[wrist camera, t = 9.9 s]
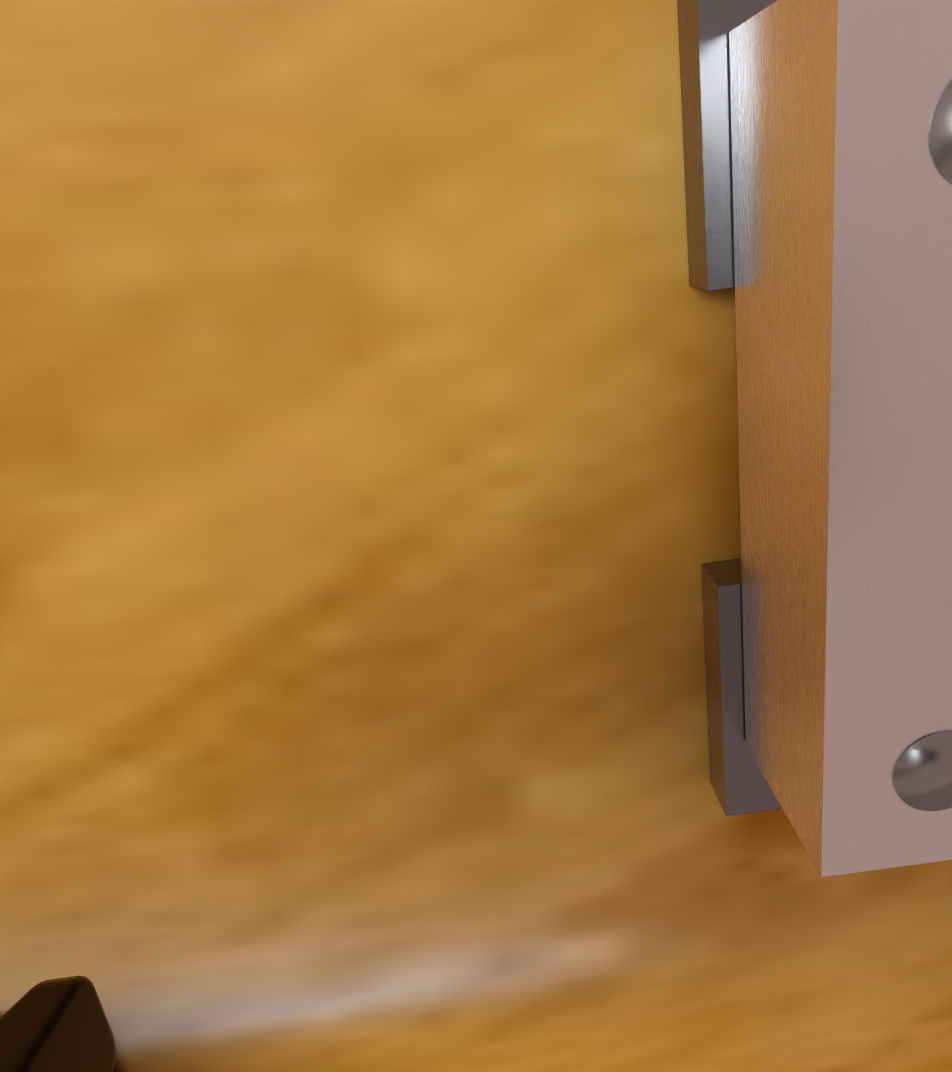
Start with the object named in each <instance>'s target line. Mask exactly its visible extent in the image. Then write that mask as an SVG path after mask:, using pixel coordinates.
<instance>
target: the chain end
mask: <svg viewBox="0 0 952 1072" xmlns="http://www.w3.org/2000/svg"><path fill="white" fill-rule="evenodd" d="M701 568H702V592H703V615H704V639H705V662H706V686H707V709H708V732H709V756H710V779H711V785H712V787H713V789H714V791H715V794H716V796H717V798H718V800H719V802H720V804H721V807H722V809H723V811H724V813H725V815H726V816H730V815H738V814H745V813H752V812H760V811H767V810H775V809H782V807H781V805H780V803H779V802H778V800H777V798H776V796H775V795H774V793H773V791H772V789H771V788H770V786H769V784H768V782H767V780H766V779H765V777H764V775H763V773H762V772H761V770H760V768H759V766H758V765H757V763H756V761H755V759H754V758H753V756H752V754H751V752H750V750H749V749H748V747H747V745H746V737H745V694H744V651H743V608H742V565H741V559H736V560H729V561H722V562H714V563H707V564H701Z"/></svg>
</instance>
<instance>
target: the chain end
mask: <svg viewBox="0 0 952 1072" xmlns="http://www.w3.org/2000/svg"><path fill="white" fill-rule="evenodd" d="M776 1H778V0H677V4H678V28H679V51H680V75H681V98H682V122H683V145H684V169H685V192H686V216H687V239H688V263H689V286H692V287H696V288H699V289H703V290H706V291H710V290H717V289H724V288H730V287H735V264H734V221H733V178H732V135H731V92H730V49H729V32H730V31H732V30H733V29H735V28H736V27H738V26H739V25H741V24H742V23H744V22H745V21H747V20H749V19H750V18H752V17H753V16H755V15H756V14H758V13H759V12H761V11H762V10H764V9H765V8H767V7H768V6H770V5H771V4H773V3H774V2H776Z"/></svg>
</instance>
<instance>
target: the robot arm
mask: <svg viewBox="0 0 952 1072" xmlns="http://www.w3.org/2000/svg"><path fill="white" fill-rule="evenodd" d="M114 1062H115V1043H114V1037H113V1034H112V1031H111V1029H110V1026H109V1023H108V1021H107V1018H106V1016H105V1013H104V1011H103V1008H102V1005H101V1003H100V1000H99V998H98V995H97V993H96V990H95V987H94V985H93V984H92V982H91V981H90V980H89V979H88V978H87V977H85V976H73V977H66V978H58V979H51V980H46V981H43V982H40V983H39V984H37V985H36V986H34V987H33V988H32V989H31V990H29V991H28V992H27V993H26V994H25V995H24V996H23V997H22V998H21V999H20V1000H19V1001H18V1002H17V1003H16V1004H15V1005H14V1006H12V1007H11V1008H10V1009H9V1010H8V1011H7V1012H6V1013H5V1014H4V1015H3V1016H2V1017H1V1018H0V1072H113V1068H114Z"/></svg>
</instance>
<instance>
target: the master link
mask: <svg viewBox="0 0 952 1072" xmlns="http://www.w3.org/2000/svg"><path fill="white" fill-rule="evenodd" d="M729 49H730V92H731V135H732V178H733V221H734V264H735V307H736V350H737V393H738V436H739V479H740V522H741V565H742V608H743V651H744V694H745V737H746V745H747V747H748V749H749V750H750V752H751V754H752V756H753V758H754V759H755V761H756V763H757V765H758V766H759V768H760V770H761V772H762V773H763V775H764V777H765V779H766V780H767V782H768V784H769V786H770V788H771V789H772V791H773V793H774V795H775V796H776V798H777V800H778V802H779V803H780V805H781V807H782V809H783V810H784V812H785V814H786V816H787V818H788V819H789V821H790V823H791V825H792V826H793V828H794V830H795V832H796V833H797V835H798V837H799V839H800V840H801V842H802V844H803V846H804V847H805V849H806V851H807V853H808V855H809V856H810V858H811V860H812V862H813V863H814V865H815V867H816V869H817V870H818V872H819V874H820V876H821V877H827V876H834V875H842V874H849V873H857V872H864V871H872V870H879V869H887V868H894V867H901V866H909V865H916V864H924V863H931V862H939V861H946V860H952V0H778V1H776V2H774V3H773V4H771V5H770V6H768V7H767V8H765V9H764V10H762V11H761V12H759V13H758V14H756V15H755V16H753V17H752V18H750V19H749V20H747V21H745V22H744V23H742V24H741V25H739V26H738V27H736V28H735V29H733V30H732V31H730V32H729Z"/></svg>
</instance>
